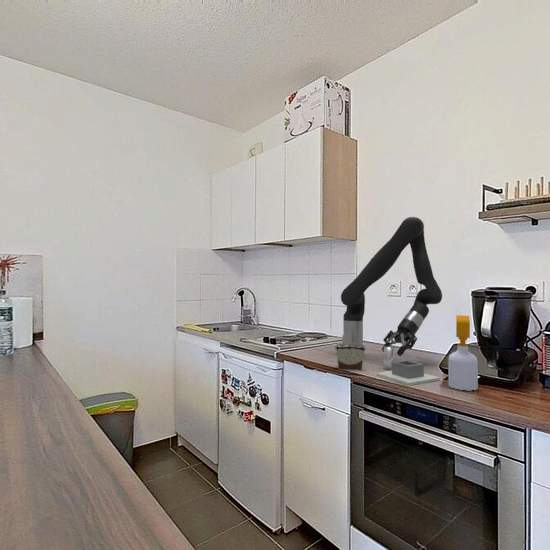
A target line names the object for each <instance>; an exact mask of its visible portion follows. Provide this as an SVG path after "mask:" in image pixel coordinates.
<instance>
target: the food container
mask: <svg viewBox="0 0 550 550" xmlns="http://www.w3.org/2000/svg"><path fill="white" fill-rule="evenodd" d="M334 350H336V357H337V367H338V369H337V370H338V371H358V372H359V371H363V364H364V363H363V361H364V355H365V354H364V353H365V352H366V347H365V345H364V344H363V345H360V344H352V343H343V344H342V343H338V344H336V345H335V348H334Z"/></svg>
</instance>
